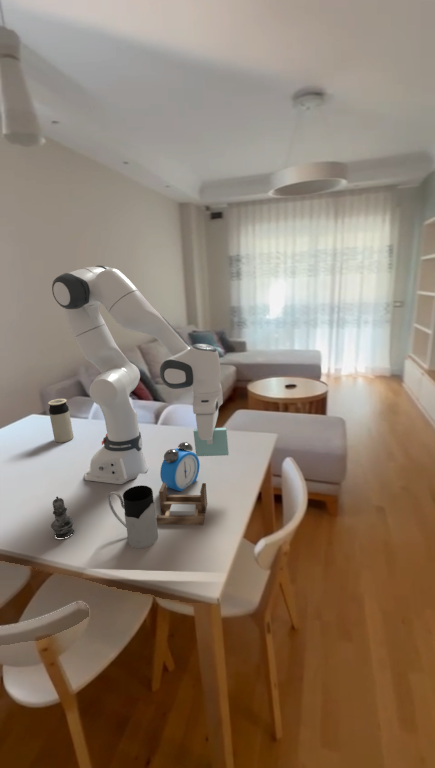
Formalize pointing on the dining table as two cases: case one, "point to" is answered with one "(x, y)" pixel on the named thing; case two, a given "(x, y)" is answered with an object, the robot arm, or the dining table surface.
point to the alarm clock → (180, 467)
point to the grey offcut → (182, 510)
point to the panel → (214, 449)
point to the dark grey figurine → (61, 520)
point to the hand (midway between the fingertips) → (210, 440)
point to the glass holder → (138, 515)
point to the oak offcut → (169, 512)
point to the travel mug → (60, 420)
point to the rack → (182, 499)
